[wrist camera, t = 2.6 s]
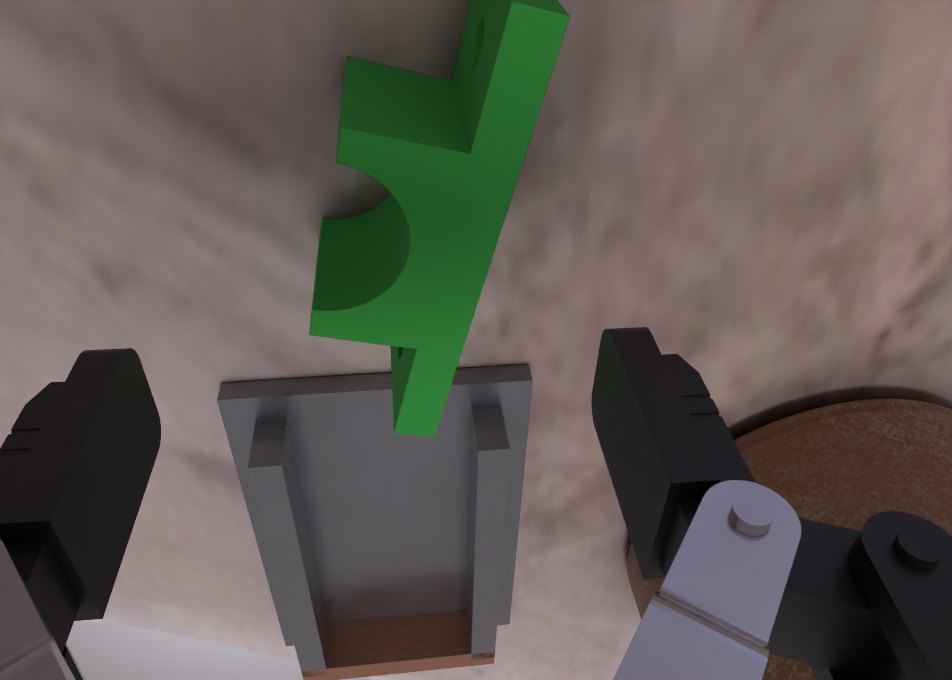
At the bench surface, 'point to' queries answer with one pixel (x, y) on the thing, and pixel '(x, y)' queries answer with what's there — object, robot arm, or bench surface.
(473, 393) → the steel channel
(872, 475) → the planter
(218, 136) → the bench surface
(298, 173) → the bench surface
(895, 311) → the bench surface
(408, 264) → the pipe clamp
